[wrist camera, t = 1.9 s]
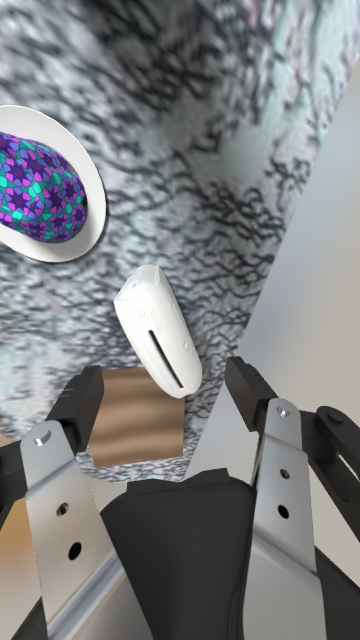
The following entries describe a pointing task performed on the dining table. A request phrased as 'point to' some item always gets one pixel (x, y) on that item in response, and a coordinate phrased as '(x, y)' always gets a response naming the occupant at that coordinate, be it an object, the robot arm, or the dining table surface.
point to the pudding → (46, 188)
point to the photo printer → (159, 331)
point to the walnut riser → (136, 420)
